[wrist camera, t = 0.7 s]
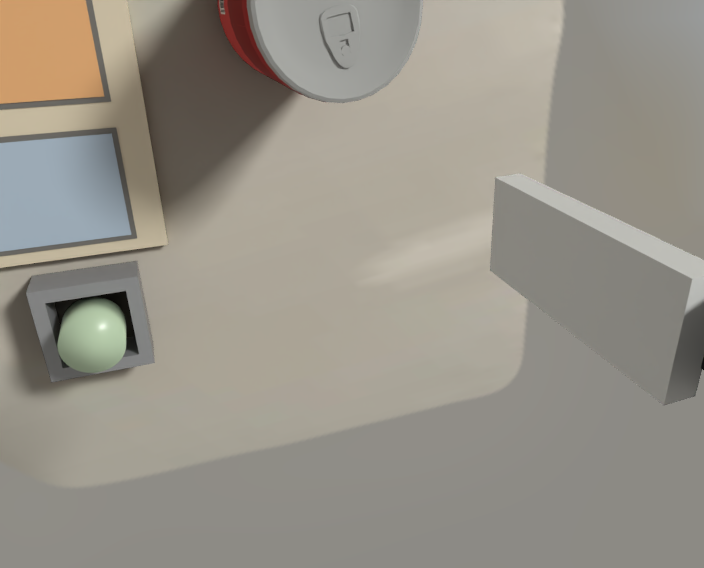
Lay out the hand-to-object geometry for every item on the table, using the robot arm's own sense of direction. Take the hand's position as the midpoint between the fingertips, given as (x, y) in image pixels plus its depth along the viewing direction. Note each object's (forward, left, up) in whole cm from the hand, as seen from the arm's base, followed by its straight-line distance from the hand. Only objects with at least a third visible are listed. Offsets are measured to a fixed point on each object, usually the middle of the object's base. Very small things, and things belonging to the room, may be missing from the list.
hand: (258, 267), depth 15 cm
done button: (+12, -7, -22) cm, 26 cm away
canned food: (-6, +6, -24) cm, 25 cm away
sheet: (-1, -8, -24) cm, 25 cm away
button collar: (+12, -7, -24) cm, 27 cm away
